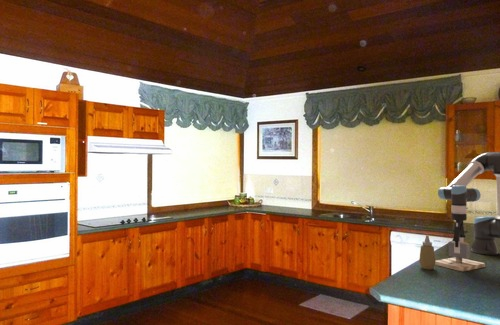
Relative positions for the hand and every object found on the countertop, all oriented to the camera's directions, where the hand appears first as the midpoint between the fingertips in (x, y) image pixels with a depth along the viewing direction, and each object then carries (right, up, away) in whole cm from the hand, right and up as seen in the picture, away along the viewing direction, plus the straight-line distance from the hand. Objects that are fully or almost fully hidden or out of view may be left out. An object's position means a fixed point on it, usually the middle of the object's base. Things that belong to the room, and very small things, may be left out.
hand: (459, 250), depth 221 cm
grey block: (0, -3, 0) cm, 3 cm away
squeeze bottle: (-21, -8, -6) cm, 23 cm away
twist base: (0, -8, 0) cm, 8 cm away
